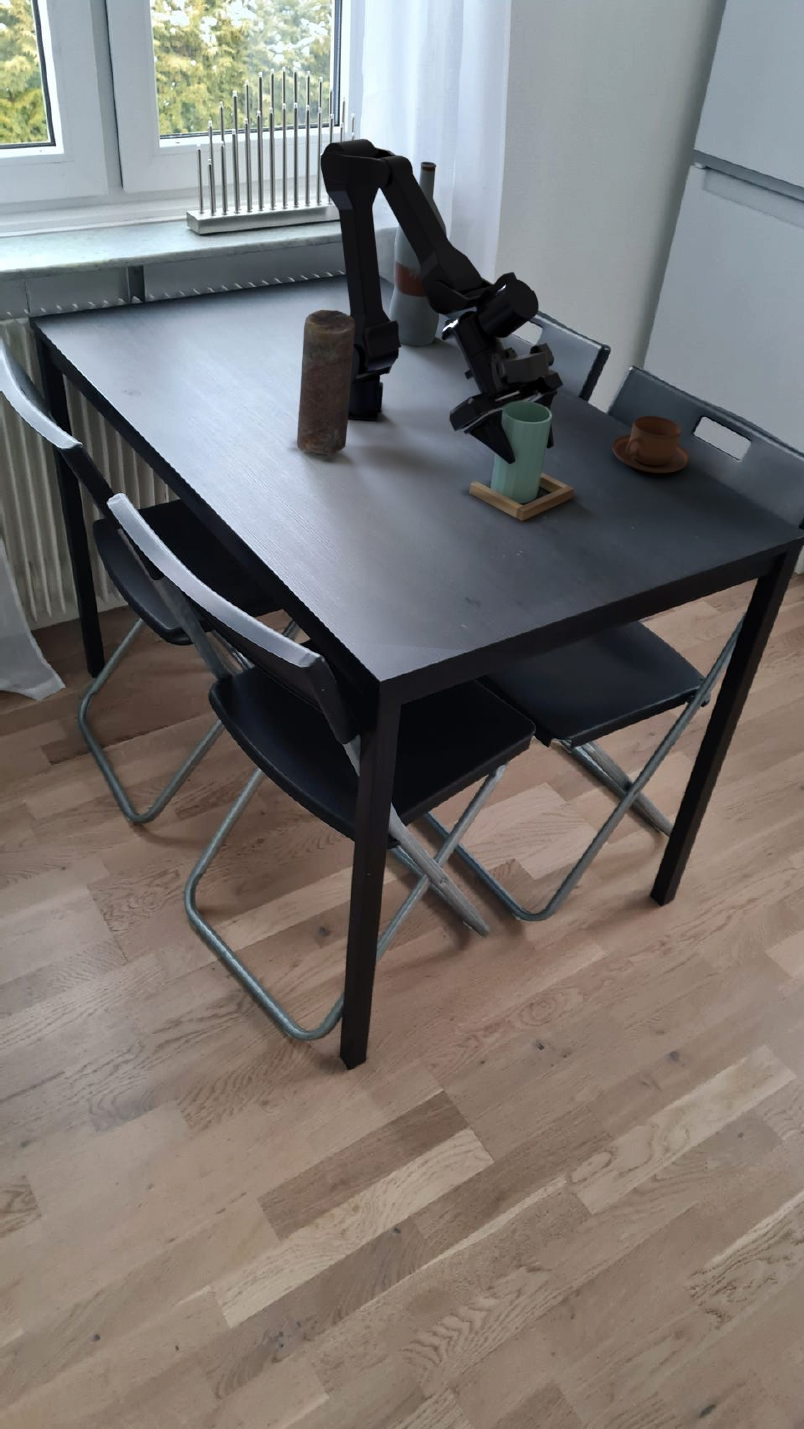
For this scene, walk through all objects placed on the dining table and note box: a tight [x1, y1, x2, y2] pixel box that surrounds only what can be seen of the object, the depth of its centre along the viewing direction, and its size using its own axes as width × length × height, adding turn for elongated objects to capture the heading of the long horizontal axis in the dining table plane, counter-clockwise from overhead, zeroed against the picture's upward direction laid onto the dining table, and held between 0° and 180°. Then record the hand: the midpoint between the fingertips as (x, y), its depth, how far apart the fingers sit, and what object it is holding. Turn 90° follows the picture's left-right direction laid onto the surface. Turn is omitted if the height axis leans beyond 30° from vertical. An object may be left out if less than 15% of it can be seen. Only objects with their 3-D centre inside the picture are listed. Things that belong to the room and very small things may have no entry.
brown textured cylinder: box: [296, 309, 355, 457], centre depth 162 cm, size 8×7×20 cm
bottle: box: [388, 161, 448, 347], centre depth 198 cm, size 9×9×30 cm
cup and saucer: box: [612, 415, 690, 474], centre depth 173 cm, size 12×12×6 cm
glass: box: [490, 401, 553, 504], centre depth 159 cm, size 7×7×12 cm
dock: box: [468, 472, 575, 522], centre depth 162 cm, size 10×12×2 cm
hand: (532, 455), depth 158 cm, fingers open, 8 cm apart
